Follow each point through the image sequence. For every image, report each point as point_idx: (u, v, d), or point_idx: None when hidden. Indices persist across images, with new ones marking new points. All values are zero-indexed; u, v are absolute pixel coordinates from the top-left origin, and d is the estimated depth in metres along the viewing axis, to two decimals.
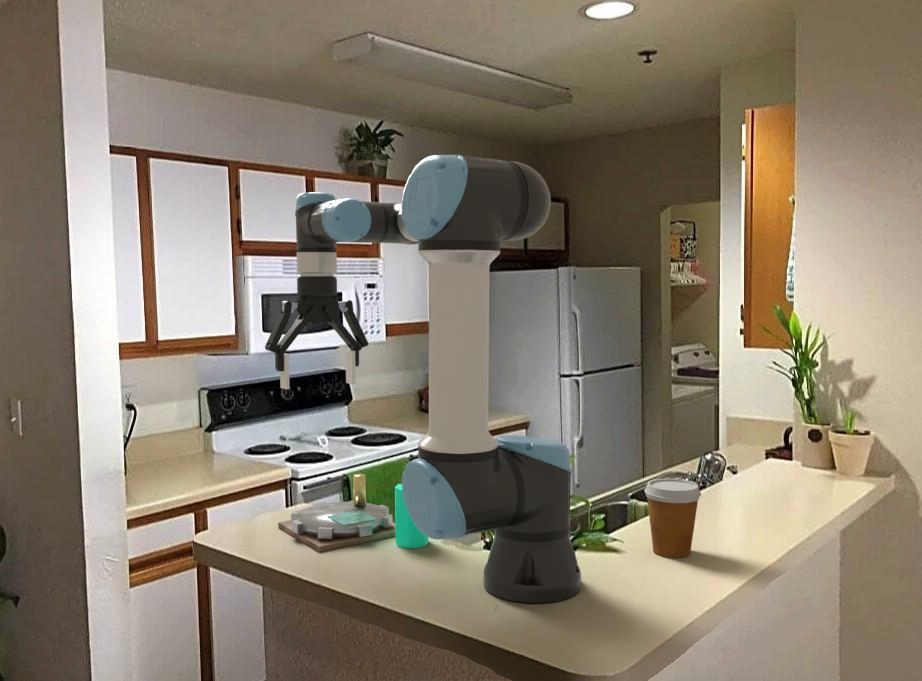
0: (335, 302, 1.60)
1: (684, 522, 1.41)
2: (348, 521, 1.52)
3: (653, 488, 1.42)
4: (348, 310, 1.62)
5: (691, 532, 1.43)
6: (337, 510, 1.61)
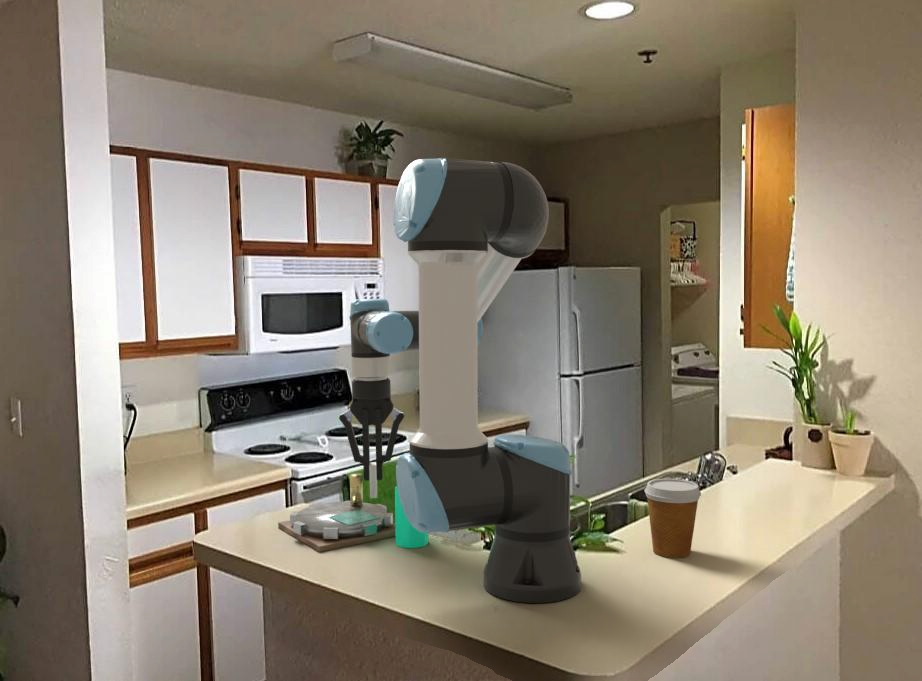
0: (389, 405, 1.62)
1: (684, 522, 1.41)
2: (352, 521, 1.52)
3: (653, 488, 1.42)
4: (395, 420, 1.63)
5: (691, 532, 1.43)
6: (336, 510, 1.60)
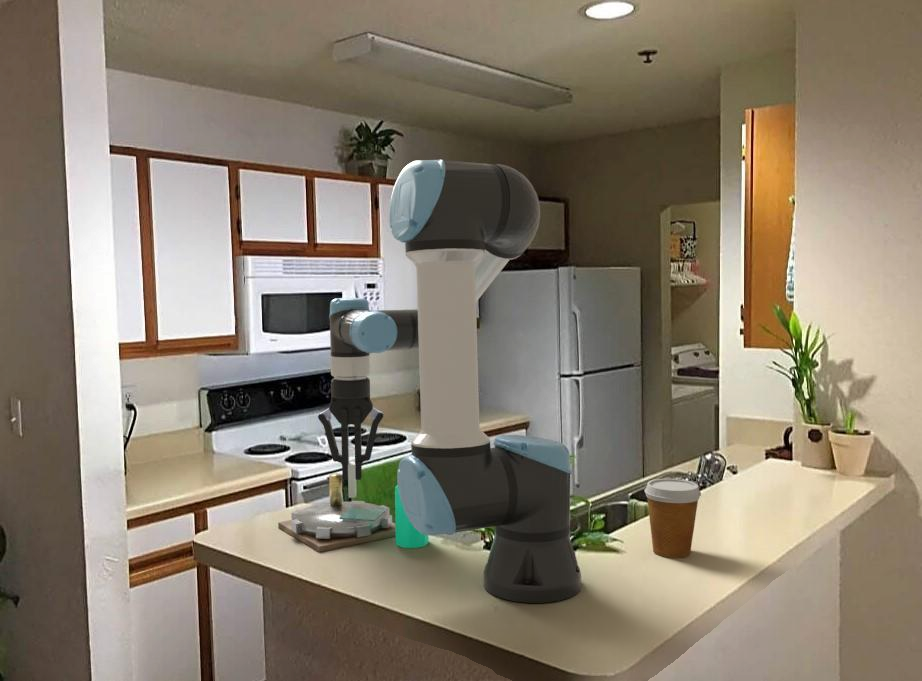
0: (369, 405, 1.62)
1: (684, 522, 1.41)
2: (369, 516, 1.55)
3: (653, 488, 1.42)
4: (374, 420, 1.62)
5: (691, 532, 1.43)
6: (329, 512, 1.59)
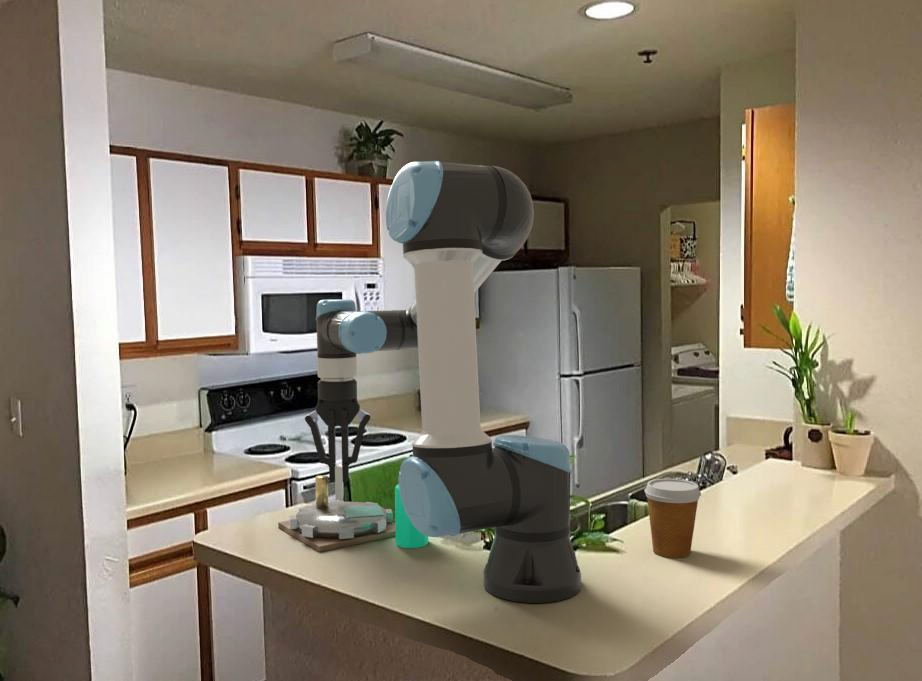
0: (356, 407, 1.61)
1: (684, 522, 1.41)
2: (374, 512, 1.58)
3: (653, 488, 1.42)
4: (361, 422, 1.62)
5: (691, 532, 1.43)
6: (327, 513, 1.58)
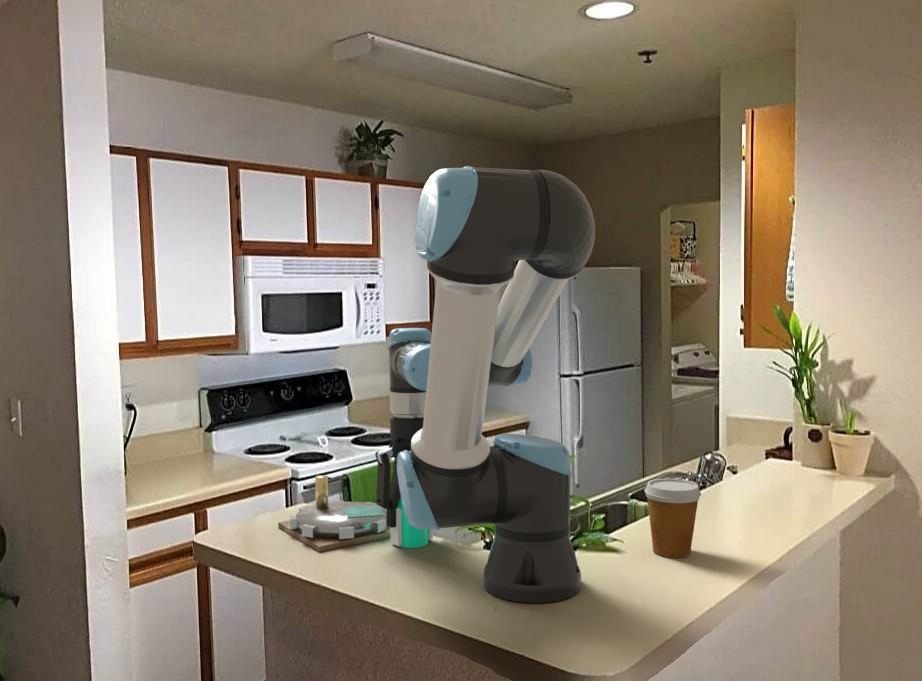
0: None
1: (684, 522, 1.41)
2: (374, 512, 1.58)
3: (653, 488, 1.42)
4: None
5: (691, 532, 1.43)
6: (327, 513, 1.58)
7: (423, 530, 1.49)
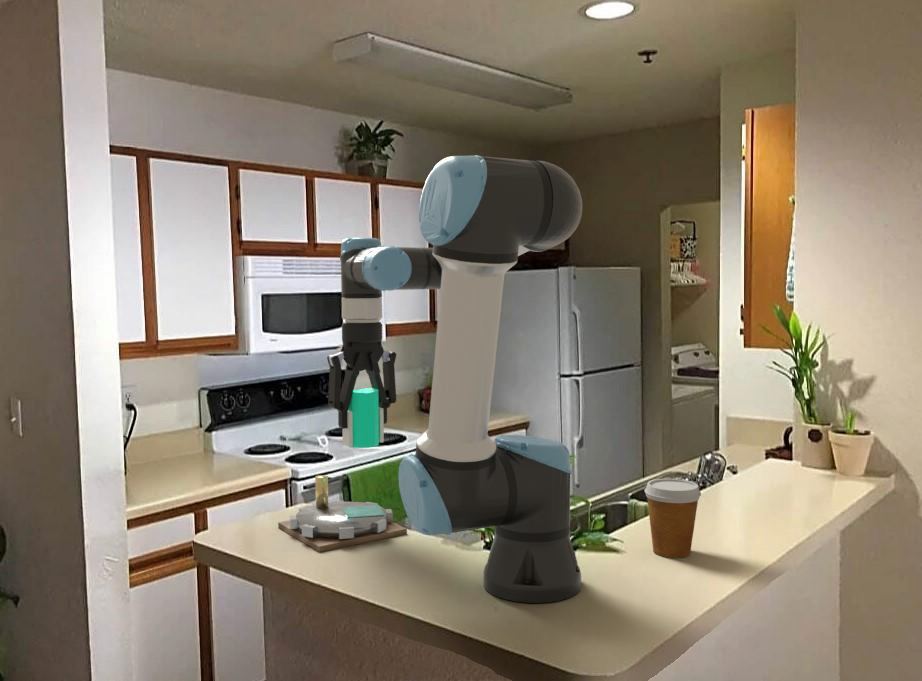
0: (381, 348, 1.57)
1: (684, 522, 1.41)
2: (374, 512, 1.58)
3: (653, 488, 1.42)
4: (390, 361, 1.59)
5: (691, 532, 1.43)
6: (327, 513, 1.58)
7: (373, 431, 1.55)
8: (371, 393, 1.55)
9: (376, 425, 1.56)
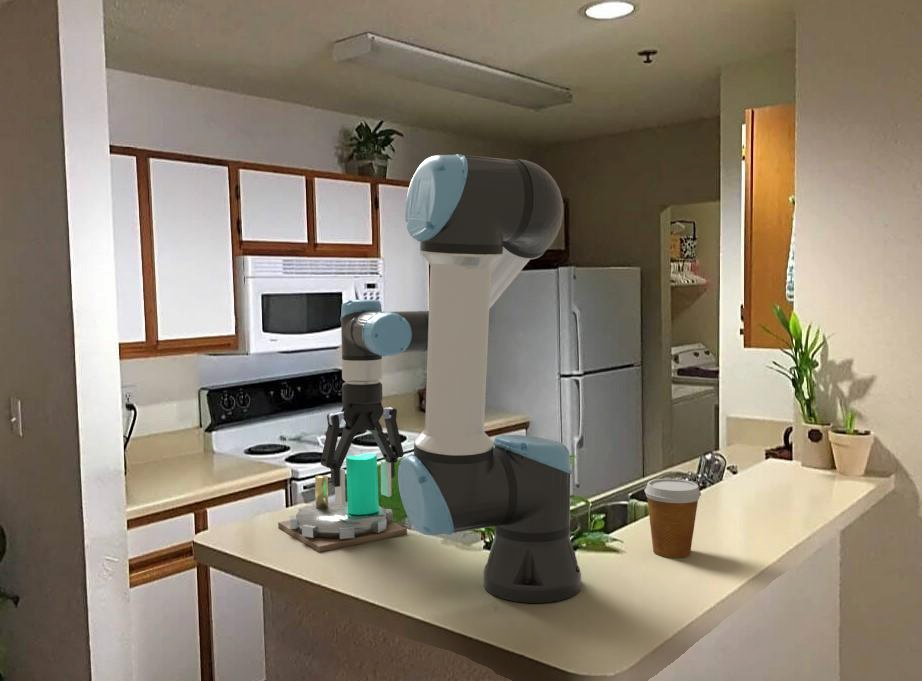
0: (381, 408, 1.58)
1: (684, 522, 1.41)
2: None
3: (653, 488, 1.42)
4: (391, 418, 1.60)
5: (691, 532, 1.43)
6: (327, 513, 1.58)
7: (373, 497, 1.56)
8: (370, 459, 1.56)
9: (376, 491, 1.57)
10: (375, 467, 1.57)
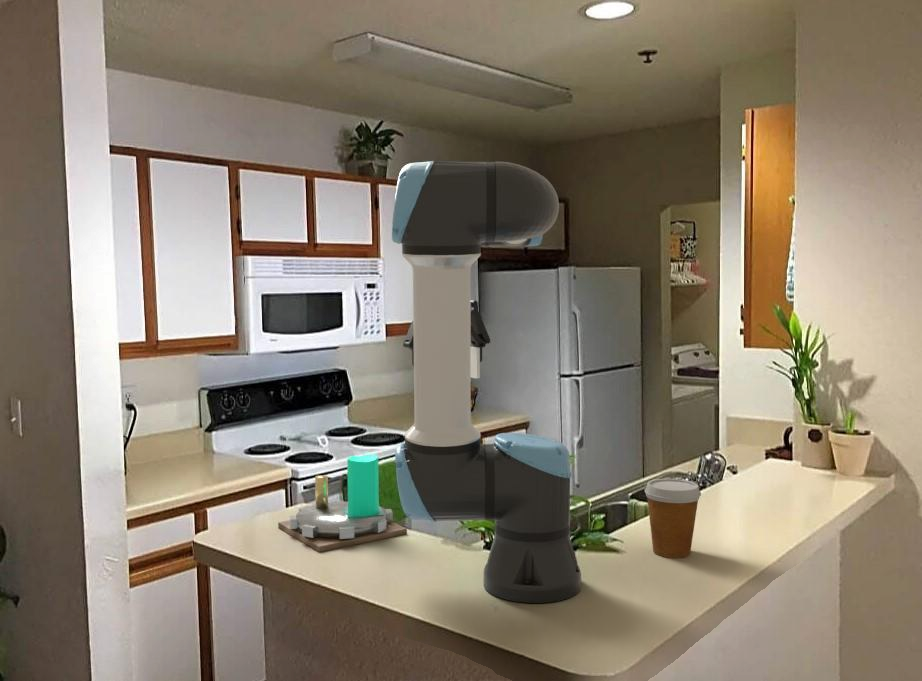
0: None
1: (684, 522, 1.41)
2: None
3: (653, 488, 1.42)
4: (474, 310, 1.74)
5: (691, 532, 1.43)
6: (327, 513, 1.58)
7: (373, 499, 1.56)
8: (371, 462, 1.56)
9: (376, 493, 1.57)
10: (376, 469, 1.57)
